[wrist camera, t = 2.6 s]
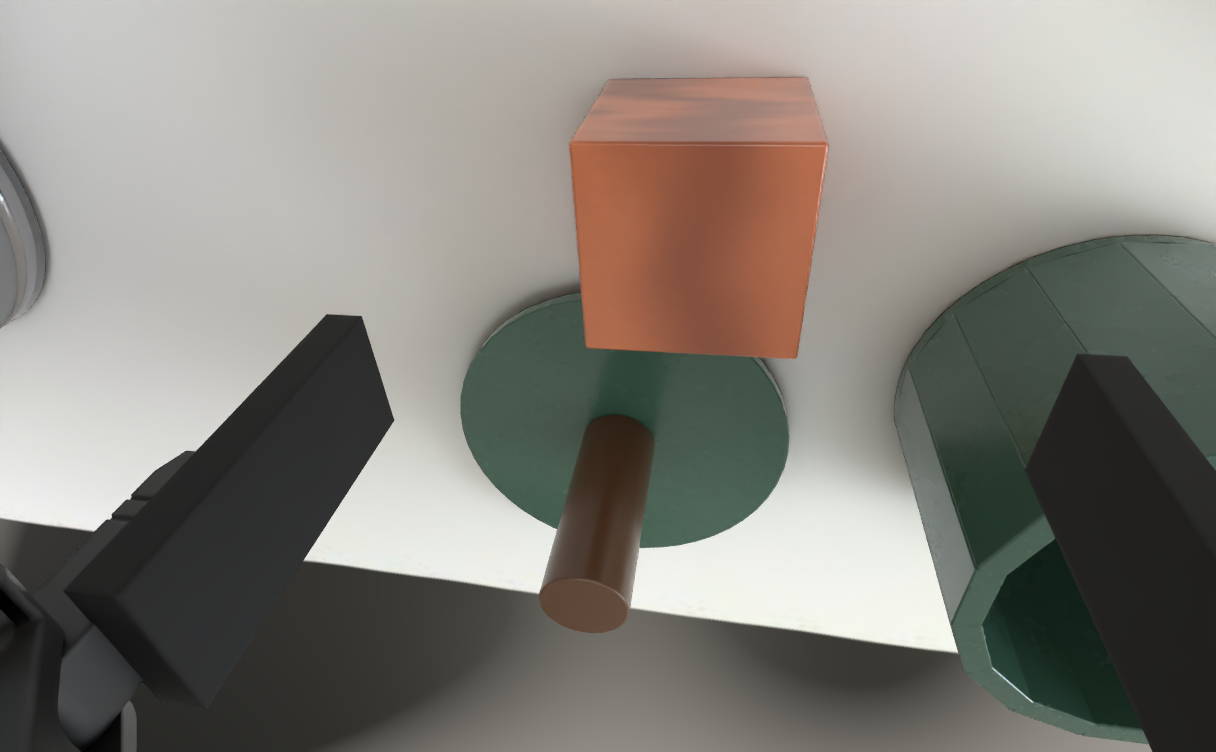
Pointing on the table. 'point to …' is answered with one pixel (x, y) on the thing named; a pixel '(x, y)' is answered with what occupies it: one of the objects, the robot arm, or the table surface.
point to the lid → (617, 449)
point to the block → (698, 214)
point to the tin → (1007, 434)
